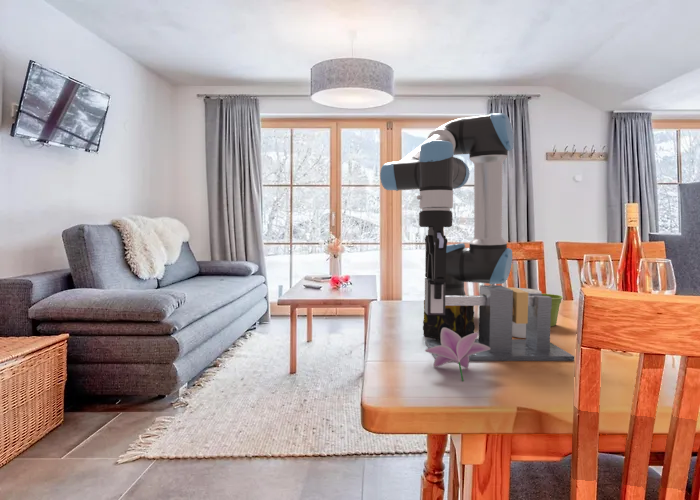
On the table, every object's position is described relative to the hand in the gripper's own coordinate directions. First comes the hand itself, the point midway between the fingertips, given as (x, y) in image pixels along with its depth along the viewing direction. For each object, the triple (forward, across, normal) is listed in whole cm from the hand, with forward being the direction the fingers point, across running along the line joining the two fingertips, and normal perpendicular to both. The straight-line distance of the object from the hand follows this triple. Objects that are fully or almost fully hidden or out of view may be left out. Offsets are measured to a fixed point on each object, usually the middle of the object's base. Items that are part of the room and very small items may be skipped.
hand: (434, 310), depth 98 cm
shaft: (+1, 0, +11) cm, 11 cm away
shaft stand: (+10, 0, +14) cm, 17 cm away
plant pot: (+10, -28, +39) cm, 49 cm away
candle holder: (+10, -16, +27) cm, 33 cm away
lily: (+10, +15, +2) cm, 18 cm away
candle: (+10, -14, +7) cm, 18 cm away
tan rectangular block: (+2, 0, +19) cm, 19 cm away
